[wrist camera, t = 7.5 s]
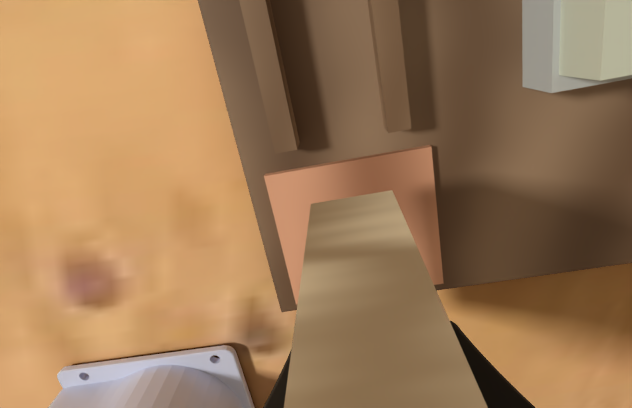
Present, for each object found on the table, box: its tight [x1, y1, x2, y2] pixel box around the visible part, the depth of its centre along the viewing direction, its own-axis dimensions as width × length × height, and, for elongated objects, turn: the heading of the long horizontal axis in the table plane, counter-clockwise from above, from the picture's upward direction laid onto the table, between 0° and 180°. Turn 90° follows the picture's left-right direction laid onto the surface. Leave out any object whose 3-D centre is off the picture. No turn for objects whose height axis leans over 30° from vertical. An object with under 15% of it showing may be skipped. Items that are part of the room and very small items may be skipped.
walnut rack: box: [198, 0, 632, 312], centre depth 14 cm, size 16×16×2 cm
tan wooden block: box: [284, 190, 488, 408], centre depth 9 cm, size 2×6×8 cm, turn 11°
